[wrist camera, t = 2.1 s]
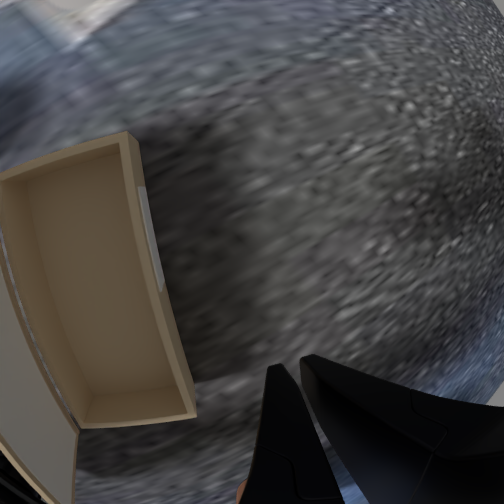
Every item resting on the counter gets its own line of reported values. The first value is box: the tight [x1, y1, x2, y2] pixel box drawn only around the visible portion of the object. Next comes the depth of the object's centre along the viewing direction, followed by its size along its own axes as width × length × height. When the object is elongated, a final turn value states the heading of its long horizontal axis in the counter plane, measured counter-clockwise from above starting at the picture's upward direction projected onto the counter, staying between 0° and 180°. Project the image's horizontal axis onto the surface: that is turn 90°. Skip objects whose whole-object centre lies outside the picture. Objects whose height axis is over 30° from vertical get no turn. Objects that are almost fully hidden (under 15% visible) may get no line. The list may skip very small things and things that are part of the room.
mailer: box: [0, 131, 197, 429], centre depth 17 cm, size 18×9×4 cm, turn 9°
